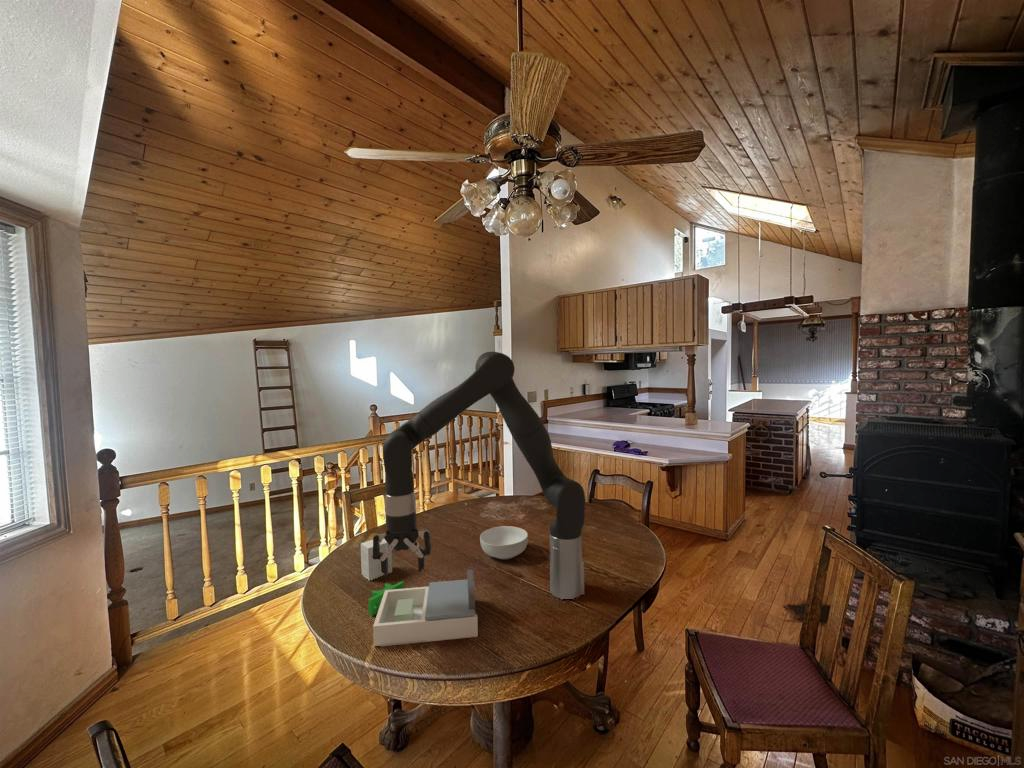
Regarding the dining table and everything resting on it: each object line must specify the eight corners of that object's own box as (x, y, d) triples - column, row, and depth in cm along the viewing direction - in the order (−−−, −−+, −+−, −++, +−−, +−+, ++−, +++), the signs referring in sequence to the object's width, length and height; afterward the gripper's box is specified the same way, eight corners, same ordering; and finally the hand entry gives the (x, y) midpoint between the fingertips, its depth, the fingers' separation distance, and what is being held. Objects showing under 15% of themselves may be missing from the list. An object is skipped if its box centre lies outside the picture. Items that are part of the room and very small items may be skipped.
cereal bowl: (505, 540, 156) (505, 521, 155) (538, 553, 144) (537, 534, 144) (470, 554, 144) (470, 535, 144) (502, 571, 132) (502, 549, 132)
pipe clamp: (395, 593, 120) (395, 578, 120) (404, 597, 118) (404, 582, 118) (362, 612, 111) (362, 595, 110) (371, 617, 108) (370, 600, 108)
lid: (472, 581, 115) (472, 566, 115) (475, 615, 99) (474, 598, 99) (429, 585, 114) (429, 570, 114) (425, 620, 98) (424, 602, 98)
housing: (474, 599, 116) (474, 582, 115) (477, 636, 100) (477, 616, 99) (385, 608, 112) (384, 590, 112) (373, 647, 96) (373, 626, 96)
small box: (384, 566, 136) (383, 535, 136) (392, 572, 132) (391, 540, 132) (361, 575, 130) (360, 543, 130) (368, 581, 126) (367, 548, 126)
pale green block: (413, 613, 109) (413, 598, 109) (411, 629, 102) (410, 613, 102) (398, 614, 108) (397, 599, 108) (394, 631, 101) (394, 615, 101)
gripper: (430, 502, 109) (432, 562, 109) (374, 506, 107) (377, 567, 108) (428, 512, 101) (430, 576, 102) (368, 517, 99) (371, 582, 100)
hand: (403, 572), depth 105 cm, fingers open, 8 cm apart
